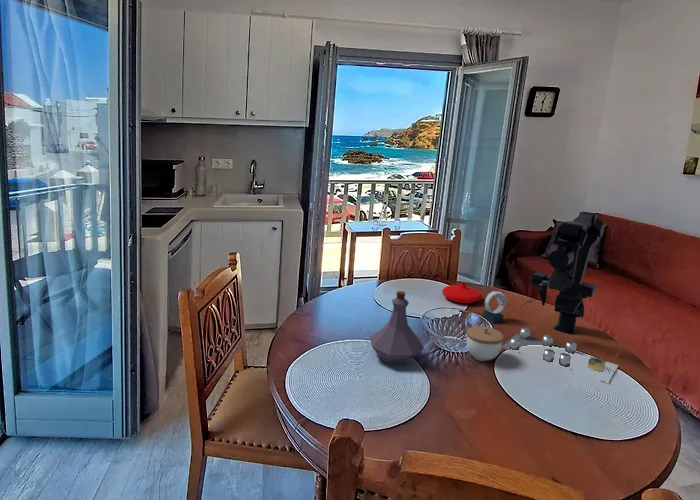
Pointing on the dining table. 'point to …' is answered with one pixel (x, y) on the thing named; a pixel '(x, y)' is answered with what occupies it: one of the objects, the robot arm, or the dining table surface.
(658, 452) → the dining table surface
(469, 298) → the red disc with nozzle
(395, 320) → the flask
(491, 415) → the dining table surface
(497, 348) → the lidded jar
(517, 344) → the spacers
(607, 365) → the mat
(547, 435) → the dining table surface
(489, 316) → the grey ring on stand
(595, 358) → the nut
